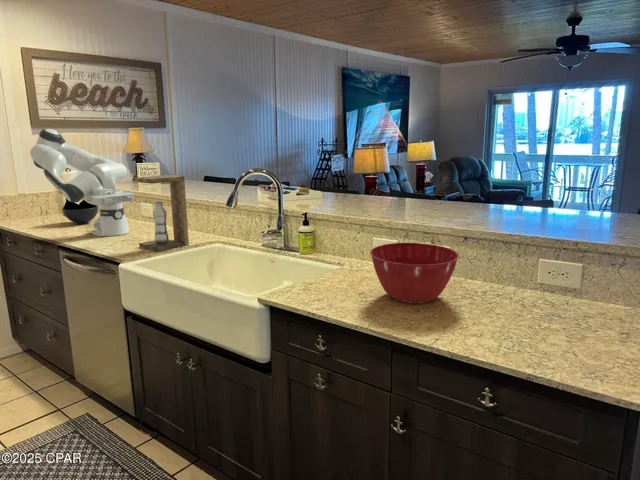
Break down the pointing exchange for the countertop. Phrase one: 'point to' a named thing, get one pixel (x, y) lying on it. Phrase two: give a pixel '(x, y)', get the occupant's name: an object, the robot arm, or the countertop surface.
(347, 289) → the countertop surface
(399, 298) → the mixing bowl
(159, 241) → the plastic bottle
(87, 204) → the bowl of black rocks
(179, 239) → the walnut shelf
